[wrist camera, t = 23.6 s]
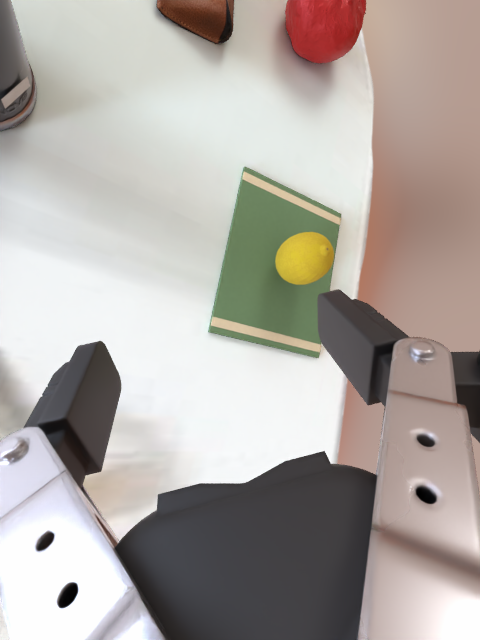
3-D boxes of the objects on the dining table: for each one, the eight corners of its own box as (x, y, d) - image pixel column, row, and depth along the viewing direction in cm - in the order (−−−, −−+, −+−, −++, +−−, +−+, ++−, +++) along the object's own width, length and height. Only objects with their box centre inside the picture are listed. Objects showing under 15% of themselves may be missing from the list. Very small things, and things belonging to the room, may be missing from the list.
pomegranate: (340, 83, 43) (398, 20, 34) (281, 66, 38) (331, -11, 30) (331, 15, 43) (387, -65, 34) (272, -9, 39) (319, -107, 30)
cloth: (208, 331, 32) (209, 331, 32) (243, 167, 35) (245, 165, 35) (316, 357, 38) (319, 357, 38) (339, 215, 41) (341, 213, 41)
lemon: (307, 260, 38) (355, 242, 31) (291, 297, 37) (337, 287, 29) (274, 235, 36) (317, 209, 29) (256, 273, 35) (295, 256, 27)
